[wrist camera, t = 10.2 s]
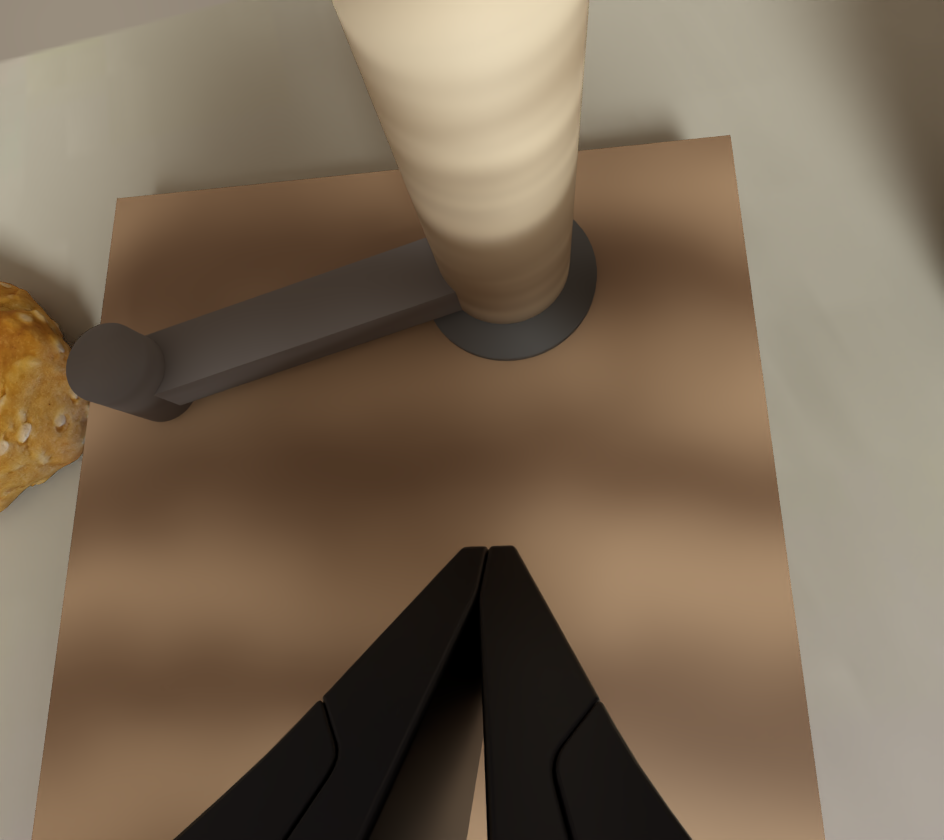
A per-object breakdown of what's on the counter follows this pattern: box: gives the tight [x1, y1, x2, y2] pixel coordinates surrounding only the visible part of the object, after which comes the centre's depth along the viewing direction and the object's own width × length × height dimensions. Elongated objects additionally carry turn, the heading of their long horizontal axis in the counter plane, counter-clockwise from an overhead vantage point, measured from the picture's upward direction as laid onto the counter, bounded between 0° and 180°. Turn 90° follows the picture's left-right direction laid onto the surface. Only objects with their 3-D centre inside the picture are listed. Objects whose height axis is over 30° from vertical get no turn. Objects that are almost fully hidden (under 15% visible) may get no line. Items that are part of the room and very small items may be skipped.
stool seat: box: [32, 135, 825, 840], centre depth 19 cm, size 22×22×3 cm
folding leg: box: [66, 0, 589, 422], centre depth 14 cm, size 4×15×10 cm, turn 107°
